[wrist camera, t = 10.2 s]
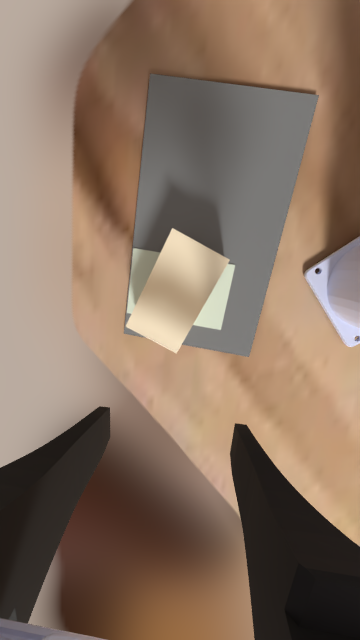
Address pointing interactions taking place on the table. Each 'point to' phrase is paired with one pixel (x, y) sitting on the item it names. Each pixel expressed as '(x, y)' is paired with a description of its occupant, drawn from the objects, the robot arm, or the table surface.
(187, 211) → the mat
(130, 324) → the beige wooden block
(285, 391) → the table surface
